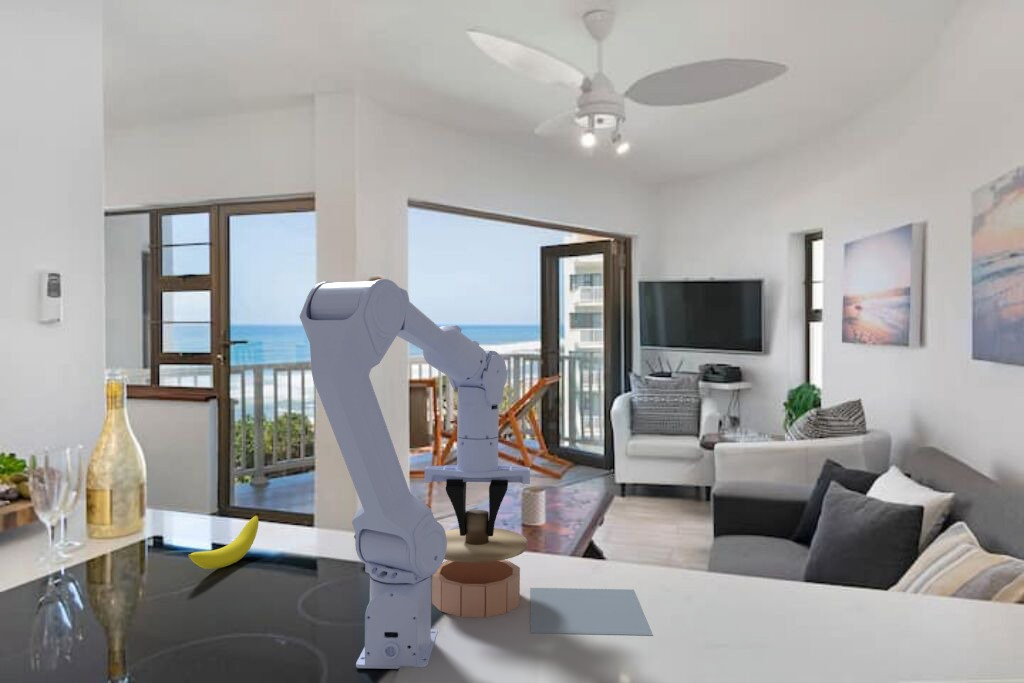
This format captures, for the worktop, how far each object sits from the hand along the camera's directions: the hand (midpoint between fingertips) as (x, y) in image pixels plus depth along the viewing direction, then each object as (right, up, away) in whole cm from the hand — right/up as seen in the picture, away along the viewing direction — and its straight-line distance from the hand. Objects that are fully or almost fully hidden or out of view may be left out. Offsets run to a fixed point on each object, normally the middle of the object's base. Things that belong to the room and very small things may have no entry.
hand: (477, 534), depth 94 cm
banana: (-41, -9, +14) cm, 44 cm away
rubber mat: (+15, -10, -3) cm, 18 cm away
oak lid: (0, -2, 0) cm, 2 cm away
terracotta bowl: (0, -10, 0) cm, 10 cm away
